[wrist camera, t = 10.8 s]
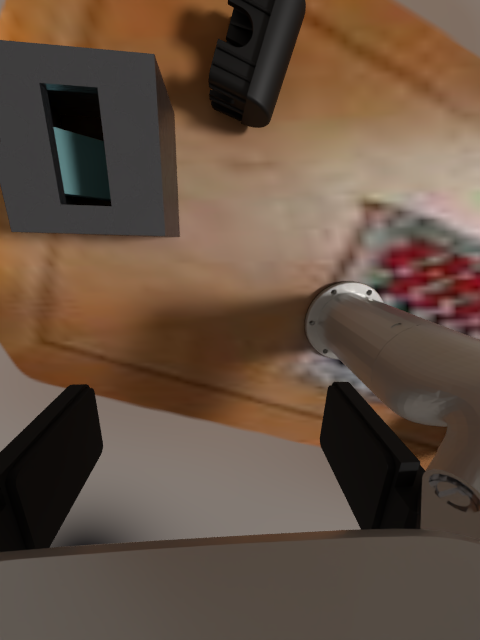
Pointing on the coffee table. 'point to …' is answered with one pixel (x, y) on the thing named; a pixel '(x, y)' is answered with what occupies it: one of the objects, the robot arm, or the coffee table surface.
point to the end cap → (254, 58)
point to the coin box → (118, 132)
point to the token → (82, 165)
